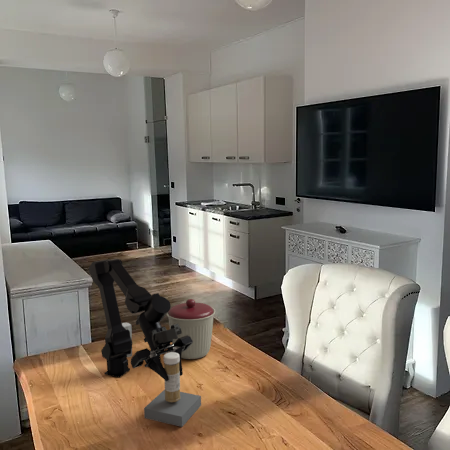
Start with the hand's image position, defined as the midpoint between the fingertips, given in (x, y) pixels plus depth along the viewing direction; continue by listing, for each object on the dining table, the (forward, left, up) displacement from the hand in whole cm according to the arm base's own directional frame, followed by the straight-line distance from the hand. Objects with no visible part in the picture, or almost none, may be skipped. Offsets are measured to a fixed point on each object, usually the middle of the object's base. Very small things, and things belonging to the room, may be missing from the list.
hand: (174, 377), depth 133 cm
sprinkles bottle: (-1, +1, -7) cm, 7 cm away
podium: (-1, +1, -11) cm, 11 cm away
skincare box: (-37, +28, -11) cm, 47 cm away
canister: (-14, +39, -11) cm, 43 cm away
